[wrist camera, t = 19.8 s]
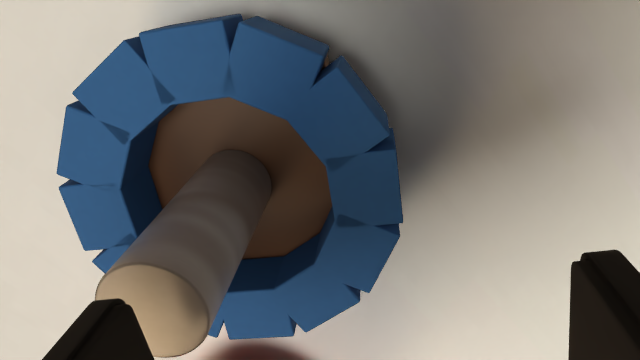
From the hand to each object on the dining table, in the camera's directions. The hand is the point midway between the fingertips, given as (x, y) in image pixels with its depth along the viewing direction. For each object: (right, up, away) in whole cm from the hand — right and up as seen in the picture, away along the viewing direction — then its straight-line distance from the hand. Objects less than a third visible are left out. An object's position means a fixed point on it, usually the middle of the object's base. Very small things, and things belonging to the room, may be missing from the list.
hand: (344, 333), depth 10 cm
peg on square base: (-4, +4, +11) cm, 12 cm away
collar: (-4, +3, +9) cm, 10 cm away
